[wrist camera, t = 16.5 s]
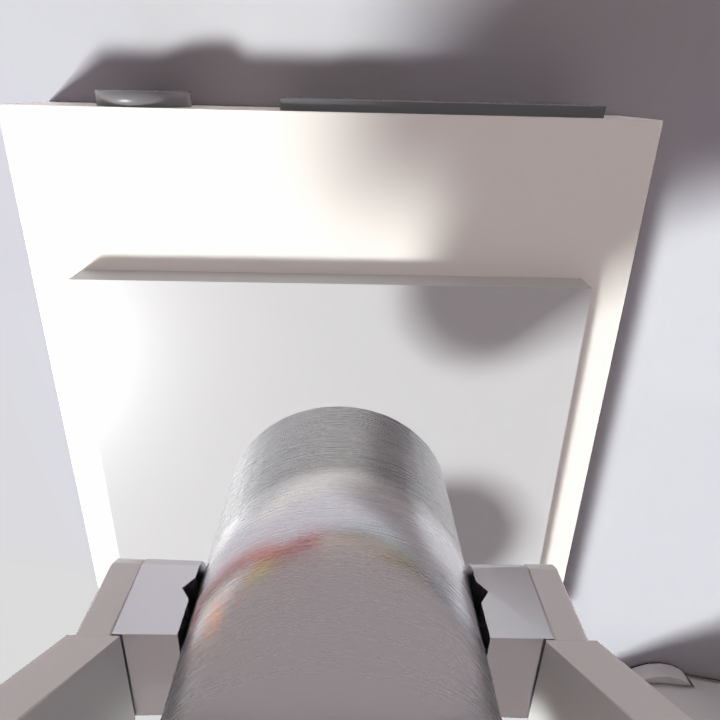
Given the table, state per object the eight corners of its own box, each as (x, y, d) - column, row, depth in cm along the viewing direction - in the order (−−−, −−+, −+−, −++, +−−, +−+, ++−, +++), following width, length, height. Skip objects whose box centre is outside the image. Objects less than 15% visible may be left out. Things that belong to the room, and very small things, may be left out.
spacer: (455, 408, 12) (544, 680, 7) (436, 581, 14) (492, 903, 8) (224, 403, 12) (117, 676, 6) (236, 579, 14) (163, 903, 8)
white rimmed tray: (621, 101, 19) (685, 105, 15) (524, 618, 28) (550, 696, 25) (45, 87, 18) (-30, 87, 15) (139, 617, 28) (108, 697, 24)
